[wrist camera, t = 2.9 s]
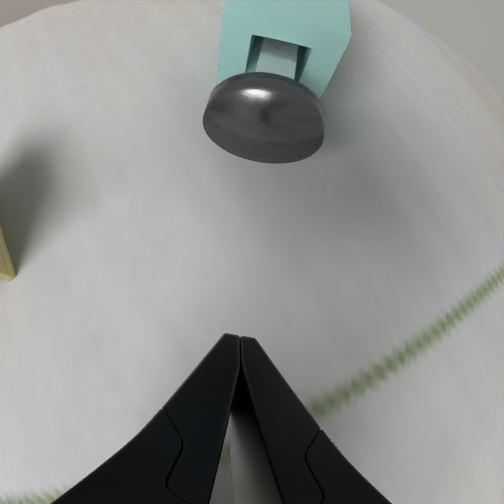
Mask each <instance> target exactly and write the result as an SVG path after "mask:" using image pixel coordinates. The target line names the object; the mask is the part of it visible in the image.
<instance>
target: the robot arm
mask: <svg viewBox="0 0 504 504" xmlns="http://www.w3.org/2000/svg"><path fill="white" fill-rule="evenodd" d="M228 421H229V435H230V454H231V472H232V489H233V504H392V503H391V502H389V501H388V500H387V499H386V498H385V497H384V496H383V495H382V494H381V493H380V492H379V491H378V490H377V489H376V488H375V487H374V486H373V485H372V484H370V483H369V482H368V481H367V480H366V479H365V478H364V477H363V476H362V475H361V474H360V473H359V472H358V471H357V470H356V469H355V468H354V466H353V465H352V464H351V463H350V462H349V461H348V460H347V459H346V458H345V457H344V456H343V455H342V453H341V452H340V451H339V450H338V449H337V447H336V446H335V445H334V444H333V443H332V441H331V440H330V439H329V437H328V436H327V435H326V434H325V432H324V431H323V430H320V426H319V425H318V424H317V422H316V421H315V420H314V419H313V417H312V416H311V415H310V413H309V412H308V410H307V409H306V408H305V406H304V405H303V404H302V402H301V401H300V400H299V398H298V397H297V396H296V394H295V393H294V392H293V390H292V389H291V387H290V386H289V385H288V383H287V382H286V381H285V379H284V378H283V376H282V375H281V374H280V372H279V371H278V369H277V368H276V367H275V365H274V364H273V362H272V361H271V360H270V358H269V357H268V355H267V354H266V353H265V351H264V350H263V348H262V347H261V346H260V344H259V343H258V341H257V340H256V339H255V338H251V337H245V336H241V337H240V338H239V336H238V335H233V334H228V333H225V334H223V335H222V337H221V338H220V339H219V340H218V342H217V343H216V344H215V345H214V346H213V348H212V349H211V350H210V351H209V352H208V354H207V355H206V356H205V357H204V358H203V360H202V361H201V362H200V363H199V364H198V366H197V367H196V368H195V369H194V370H193V372H192V373H191V374H190V375H189V376H188V378H187V379H186V380H185V381H184V382H183V384H182V385H181V386H180V387H179V388H178V389H177V391H176V392H175V393H174V394H173V395H172V397H171V398H170V399H169V400H168V401H167V402H166V404H165V405H164V406H163V407H162V409H160V410H159V411H158V412H157V414H156V415H155V416H154V417H153V418H152V419H151V420H150V421H149V423H148V424H147V425H146V426H145V427H144V428H143V429H142V430H141V431H140V432H139V433H138V434H137V435H136V436H135V437H134V438H133V439H131V440H130V441H129V442H128V443H127V444H126V445H125V446H124V447H123V448H121V449H120V450H119V451H118V452H116V453H115V454H114V455H113V456H112V457H110V458H109V459H108V460H107V461H105V462H104V463H103V464H102V465H100V466H99V467H98V468H97V469H95V470H94V471H93V472H91V473H90V474H89V475H88V476H86V477H85V478H84V479H83V480H81V481H80V482H79V483H77V484H76V485H75V486H73V487H72V488H71V489H69V490H68V491H67V492H65V493H64V494H63V495H61V496H60V497H59V498H57V499H56V500H55V501H53V502H52V503H51V504H209V502H210V498H211V494H212V490H213V486H214V481H215V477H216V473H217V469H218V464H219V460H220V456H221V452H222V447H223V443H224V439H225V434H226V430H227V426H228Z"/></svg>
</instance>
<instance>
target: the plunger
mask: <svg viewBox="0 0 504 504" xmlns="http://www.w3.org/2000/svg"><path fill="white" fill-rule="evenodd" d="M298 47H299V45H297V44H293V43H289V42H285V41H281V40H277V39H272V38H267V37H264V40H263V44H262V48H261V51H260V55H259V59H258V63H257V67H256V71H255V72H248V73H242V74H237V75H234V76H231V77H229V78H227V79H225V80H223V81H222V82H220V83H219V84H218V85H217V86H216V87H215V88H214V89H213V91H212V92H211V95H210V98H209V101H208V104H207V107H206V110H205V113H204V116H203V126H204V129H205V131H206V133H207V135H208V136H209V137H210V139H211V140H212V141H213V142H214V143H216V144H217V145H218V146H219V147H221V148H222V149H224V150H226V151H227V152H229V153H231V154H234V155H236V156H239V157H241V158H245V159H248V160H252V161H257V162H263V163H290V162H295V161H299V160H302V159H305V158H307V157H309V156H311V155H312V154H314V153H315V152H316V151H317V150H318V149H319V148H320V147H321V145H322V142H323V138H324V124H325V112H324V108H323V105H322V103H321V102H320V100H319V98H318V97H317V96H316V95H315V94H314V93H313V92H312V91H311V90H310V89H309V88H307V87H306V86H304V85H303V84H301V83H299V82H297V81H296V80H294V76H295V69H296V61H297V54H298Z"/></svg>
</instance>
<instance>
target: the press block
mask: <svg viewBox="0 0 504 504" xmlns="http://www.w3.org/2000/svg"><path fill="white" fill-rule="evenodd" d="M264 37H267V38H272V39H277V40H281V41H285V42H289V43H293V44H297V45H299V47H298V54H297V61H296V69H295V76H294V80H296V81H297V82H299V83H301V84H303V85H304V86H306V87H307V88H309V89H310V90H311V91H312V92H313V93H314V94H315V95H316V96H317V97H318V98H319V100H320V99H321V97H322V95H323V93H324V91H325V89H326V87H327V85H328V83H329V81H330V79H331V77H332V75H333V73H334V71H335V69H336V67H337V65H338V63H339V61H340V59H341V57H342V55H343V53H344V51H345V49H346V47H347V45H348V43H349V41H350V39H351V37H352V33H351V20H350V9H349V0H227V1H226V3H225V5H224V8H223V18H222V28H221V39H220V50H219V62H218V75H217V85H218V84H219V83H220V82H222V81H223V80H225V79H227V78H229V77H231V76H234V75H237V74H242V73H248V72H255V71H256V67H257V63H258V59H259V55H260V51H261V48H262V44H263V40H264Z"/></svg>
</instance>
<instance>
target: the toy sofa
mask: <svg viewBox="0 0 504 504" xmlns="http://www.w3.org/2000/svg"><path fill="white" fill-rule="evenodd" d="M15 277H16V273H15V270H14V267H13V264H12V261H11V258H10V255H9V252H8V248H7V245H6V242H5V239H4V235H3V232H2V228H1V224H0V279H1V280H5V281H11V280H13V279H14V278H15Z"/></svg>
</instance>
